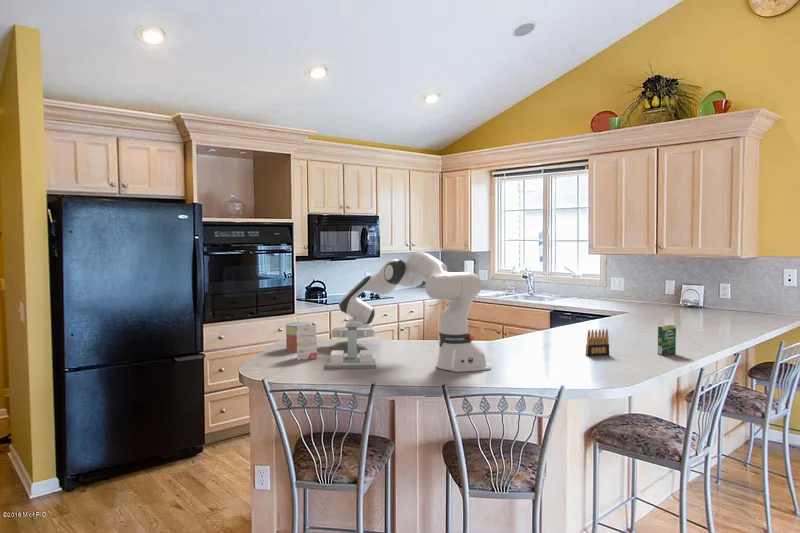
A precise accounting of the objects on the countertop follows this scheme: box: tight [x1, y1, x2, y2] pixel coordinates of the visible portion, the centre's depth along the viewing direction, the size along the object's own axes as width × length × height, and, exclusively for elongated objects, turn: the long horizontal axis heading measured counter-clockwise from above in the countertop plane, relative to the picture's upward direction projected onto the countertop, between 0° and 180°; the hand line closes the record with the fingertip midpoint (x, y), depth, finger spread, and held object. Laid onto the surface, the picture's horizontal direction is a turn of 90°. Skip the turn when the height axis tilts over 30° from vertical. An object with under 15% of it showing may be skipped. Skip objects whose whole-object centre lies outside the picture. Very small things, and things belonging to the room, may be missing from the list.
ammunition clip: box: [585, 328, 610, 357], centre depth 256 cm, size 11×2×12 cm, turn 102°
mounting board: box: [326, 349, 377, 370], centre depth 239 cm, size 20×12×5 cm, turn 94°
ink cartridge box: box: [296, 325, 318, 361], centre depth 251 cm, size 9×5×15 cm, turn 101°
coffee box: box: [657, 324, 677, 356], centre depth 258 cm, size 8×3×13 cm, turn 107°
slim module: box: [347, 325, 358, 359], centre depth 253 cm, size 4×4×14 cm
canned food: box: [285, 321, 311, 353], centre depth 271 cm, size 11×11×12 cm
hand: (353, 335), depth 264 cm, fingers open, 8 cm apart
